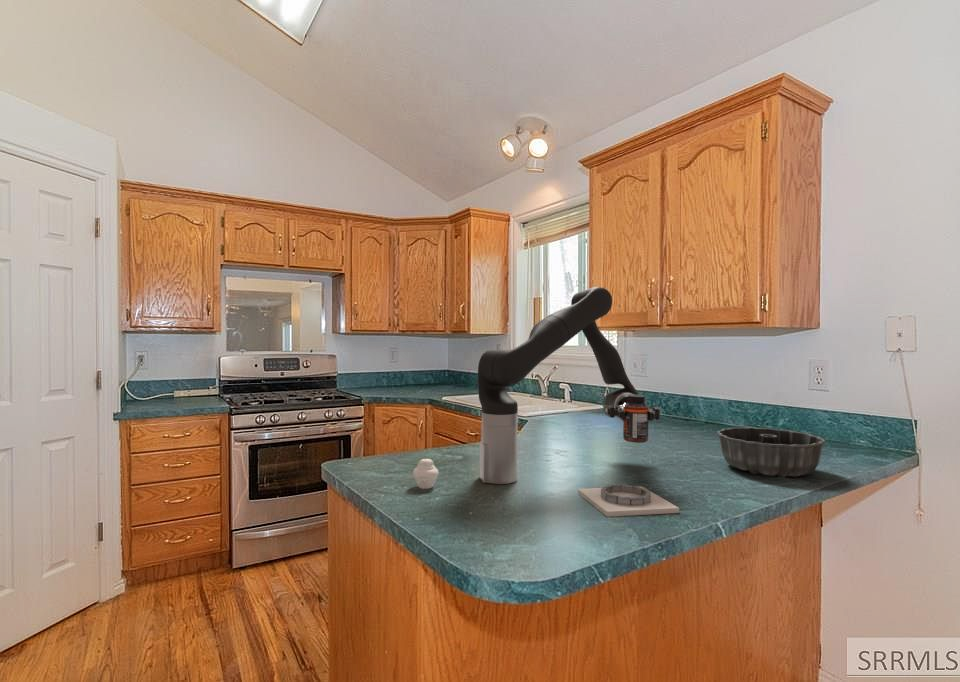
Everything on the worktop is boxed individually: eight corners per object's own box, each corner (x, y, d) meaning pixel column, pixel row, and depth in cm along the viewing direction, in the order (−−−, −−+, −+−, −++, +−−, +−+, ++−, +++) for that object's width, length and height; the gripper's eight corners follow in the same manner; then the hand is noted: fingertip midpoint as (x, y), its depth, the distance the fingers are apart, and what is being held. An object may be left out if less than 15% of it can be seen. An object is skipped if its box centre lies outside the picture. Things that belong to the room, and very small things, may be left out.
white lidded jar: (413, 483, 124) (413, 455, 124) (438, 483, 125) (438, 455, 125) (412, 491, 118) (412, 461, 118) (438, 490, 119) (438, 461, 119)
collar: (613, 506, 105) (613, 499, 105) (593, 491, 115) (593, 485, 115) (659, 504, 107) (660, 497, 107) (636, 490, 117) (636, 483, 117)
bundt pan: (765, 485, 126) (766, 445, 126) (697, 461, 152) (697, 428, 152) (849, 480, 132) (850, 442, 132) (770, 457, 158) (770, 426, 158)
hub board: (606, 516, 102) (606, 511, 102) (578, 493, 118) (578, 488, 118) (679, 512, 104) (679, 508, 104) (641, 490, 120) (641, 486, 120)
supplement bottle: (619, 438, 127) (620, 393, 127) (642, 438, 128) (642, 394, 128) (628, 443, 121) (629, 396, 121) (652, 443, 122) (652, 396, 122)
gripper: (602, 392, 140) (607, 399, 123) (656, 394, 137) (668, 401, 121) (602, 419, 140) (606, 430, 123) (655, 421, 137) (668, 432, 121)
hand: (637, 415), depth 122 cm, fingers closed on supplement bottle, 6 cm apart
